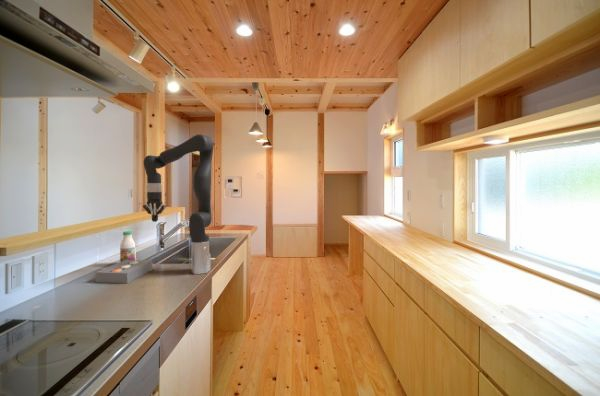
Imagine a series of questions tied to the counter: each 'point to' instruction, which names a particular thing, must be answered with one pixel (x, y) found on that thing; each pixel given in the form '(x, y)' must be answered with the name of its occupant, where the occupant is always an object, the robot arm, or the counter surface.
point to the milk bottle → (127, 247)
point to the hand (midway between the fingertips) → (154, 221)
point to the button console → (123, 272)
